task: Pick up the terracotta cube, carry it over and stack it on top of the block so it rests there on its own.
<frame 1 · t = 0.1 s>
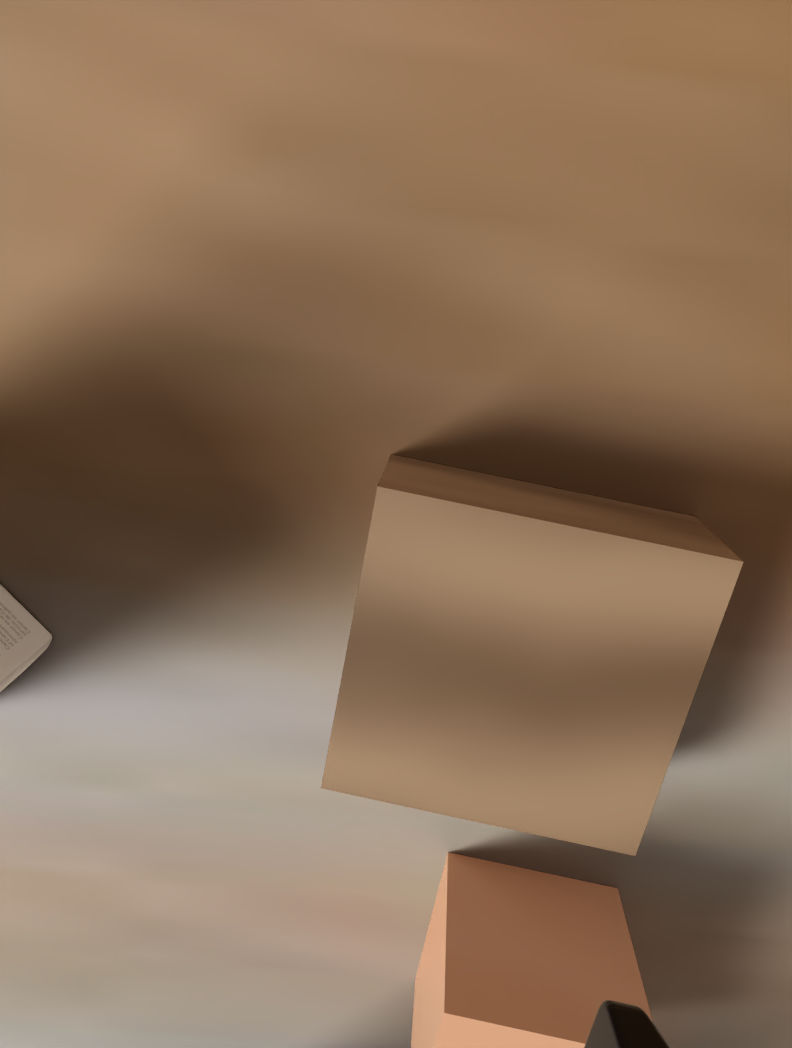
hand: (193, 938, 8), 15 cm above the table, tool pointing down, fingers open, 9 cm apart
cube: (512, 933, 26), on the table
block: (506, 618, 23), on the table
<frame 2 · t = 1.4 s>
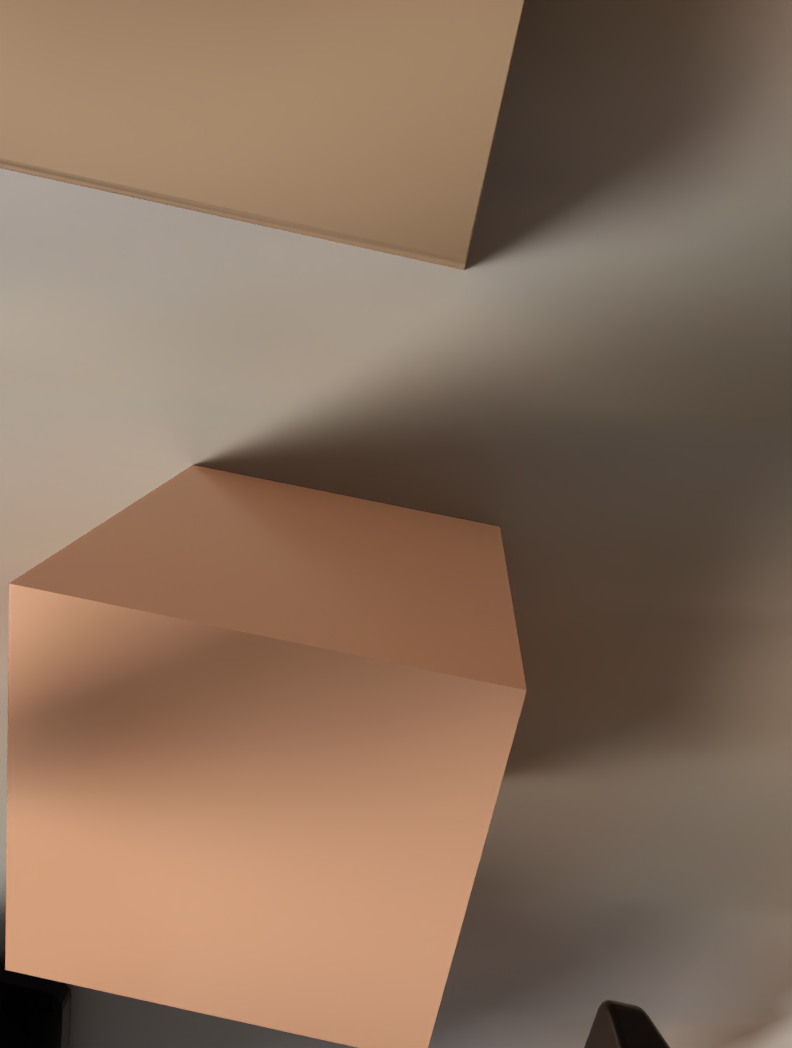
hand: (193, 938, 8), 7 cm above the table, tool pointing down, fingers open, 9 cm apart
cube: (323, 632, 15), on the table
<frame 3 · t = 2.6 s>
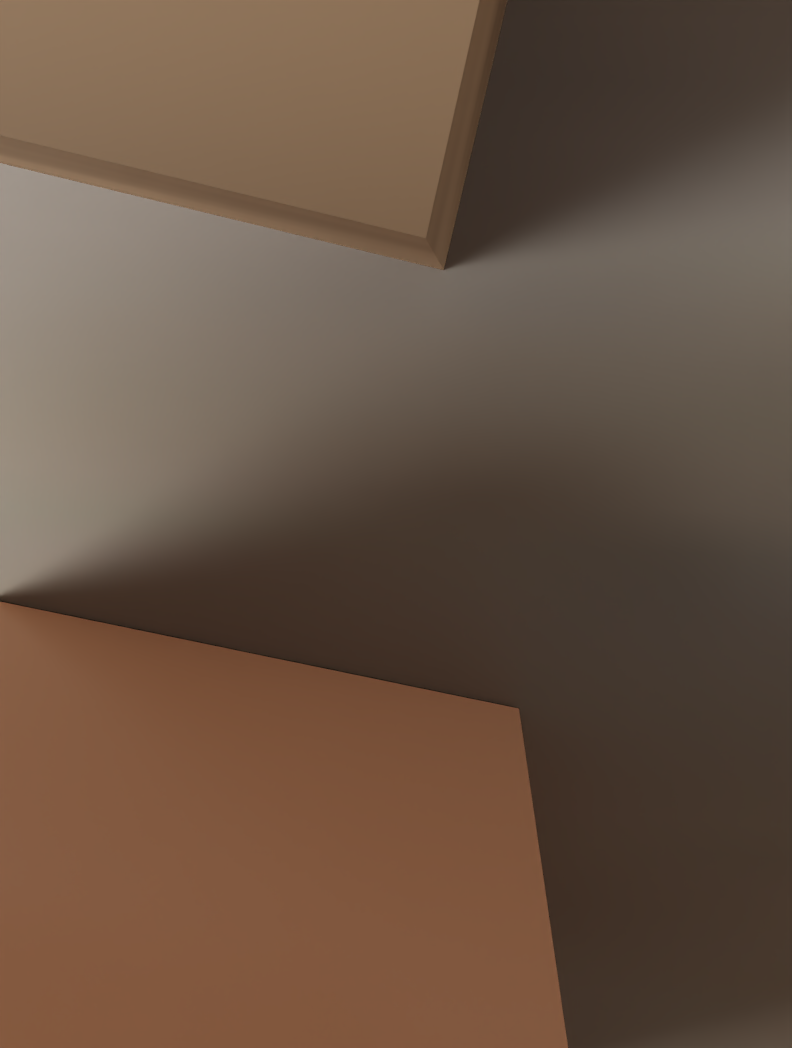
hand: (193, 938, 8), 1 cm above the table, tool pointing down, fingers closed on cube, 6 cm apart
cube: (222, 866, 9), on the table, touching gripper
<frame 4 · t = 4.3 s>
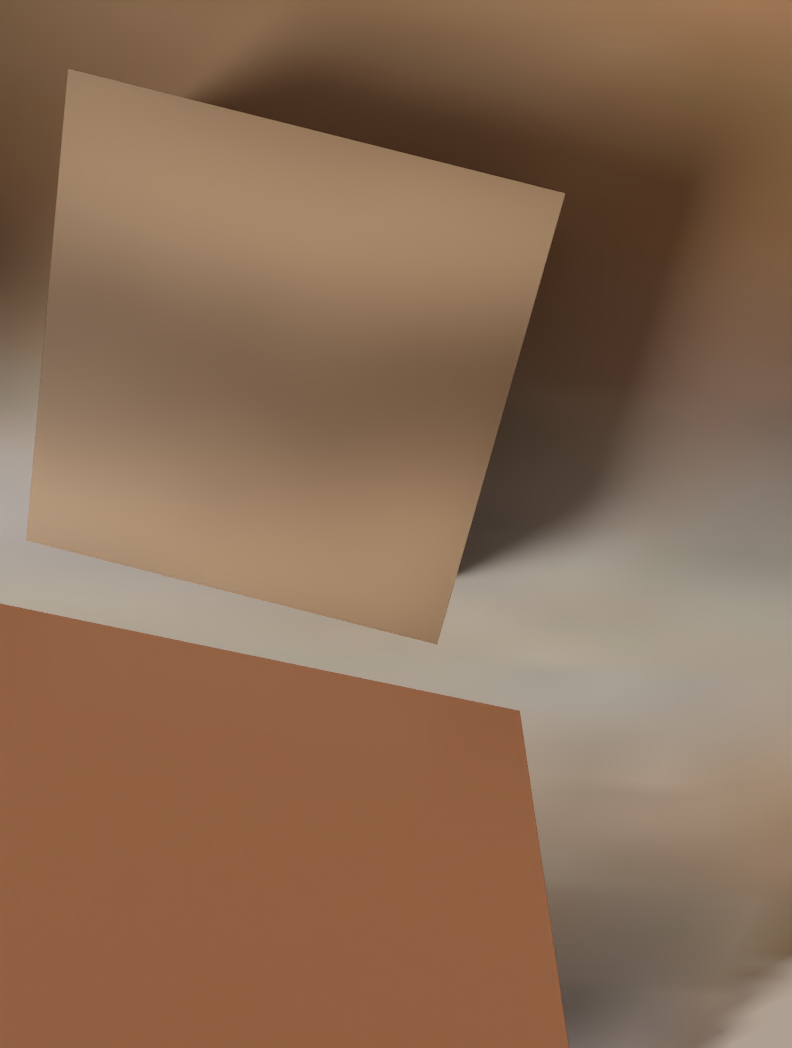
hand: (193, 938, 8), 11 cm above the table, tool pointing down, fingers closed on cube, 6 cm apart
cube: (223, 868, 9), point 10 cm above the table, touching gripper
block: (309, 367, 18), on the table
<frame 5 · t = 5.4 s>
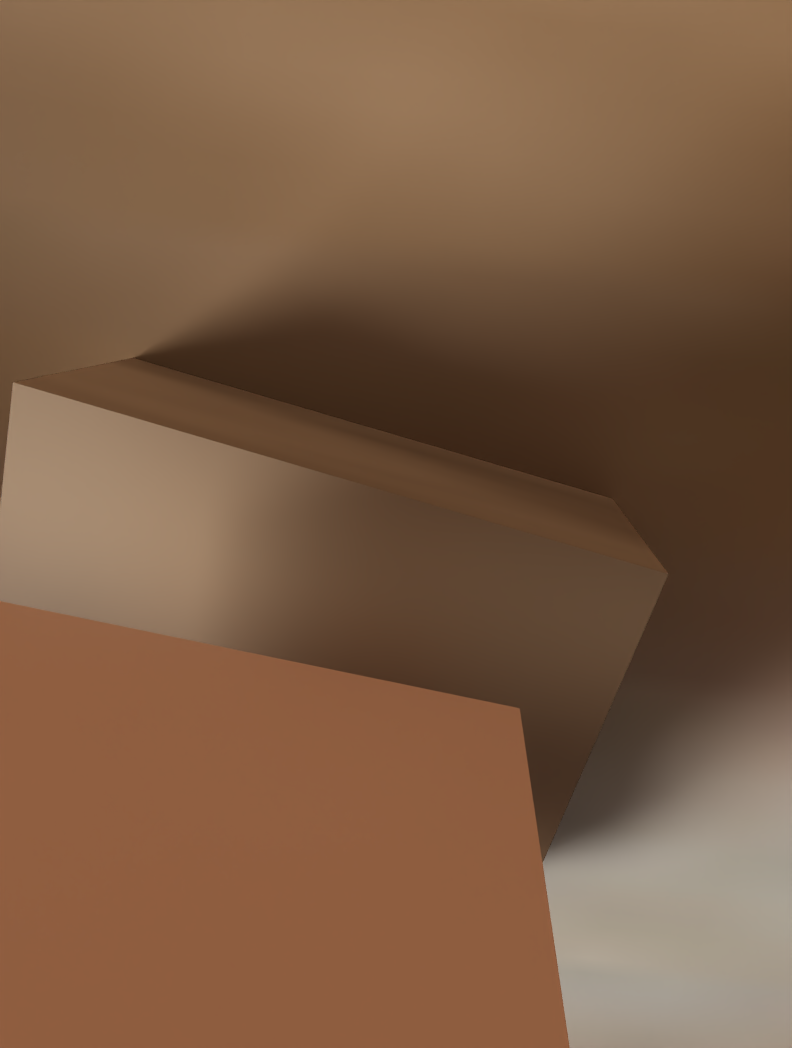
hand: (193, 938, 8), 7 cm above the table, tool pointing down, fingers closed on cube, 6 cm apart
cube: (222, 867, 9), point 6 cm above the table, touching gripper
block: (318, 635, 15), on the table
when the fingers open (6 cm above the table, at t = 6.0 s): cube drops 2 cm, resting on block.
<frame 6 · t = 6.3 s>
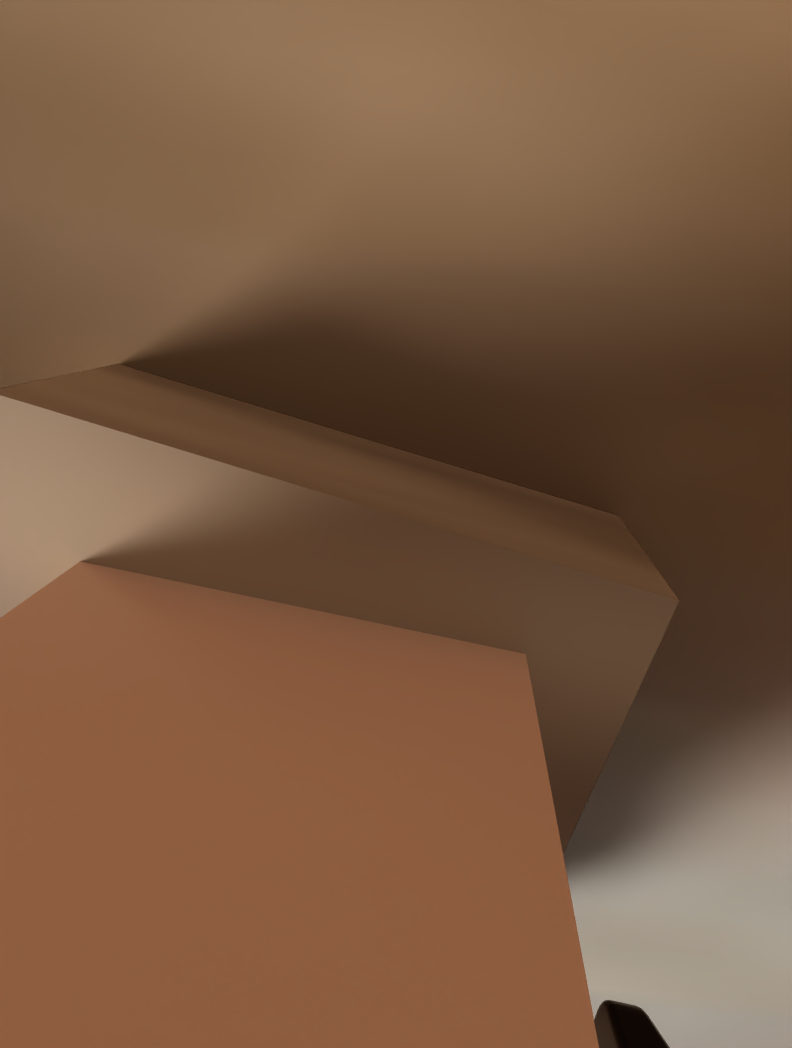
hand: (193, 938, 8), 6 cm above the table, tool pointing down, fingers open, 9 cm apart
cube: (271, 792, 10), point 4 cm above the table, touching block
block: (310, 651, 14), on the table, touching cube
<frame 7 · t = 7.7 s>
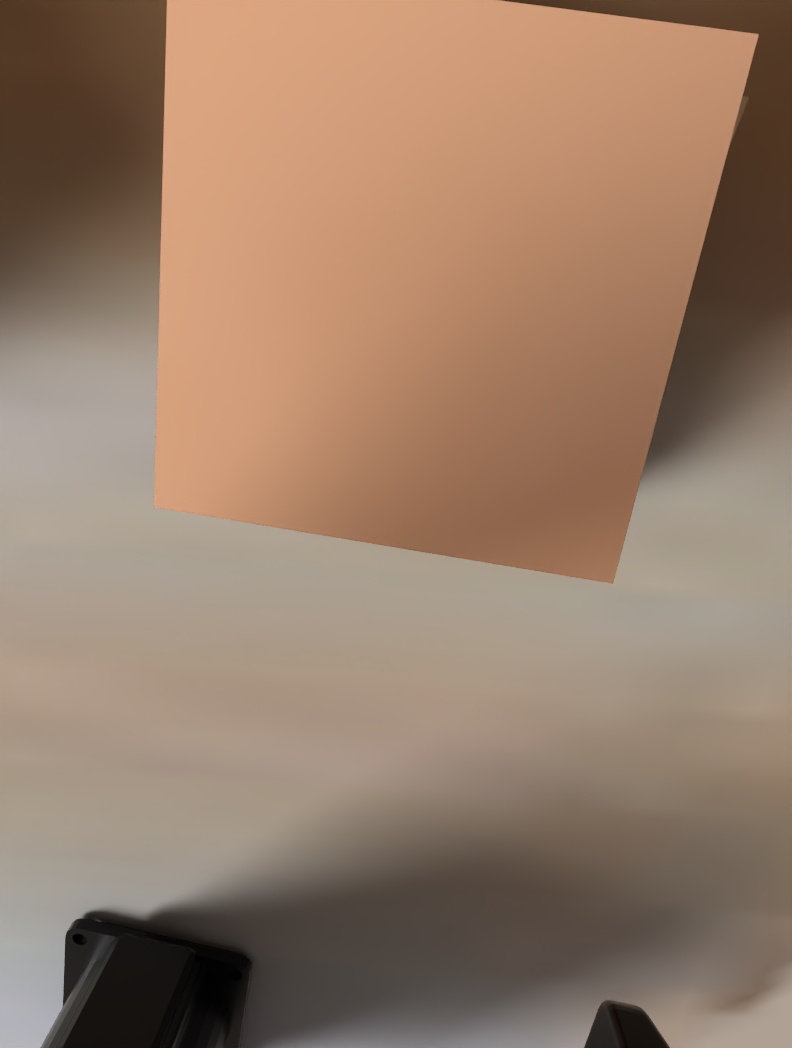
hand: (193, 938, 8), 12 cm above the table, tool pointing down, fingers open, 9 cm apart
cube: (437, 291, 14), point 4 cm above the table, touching block
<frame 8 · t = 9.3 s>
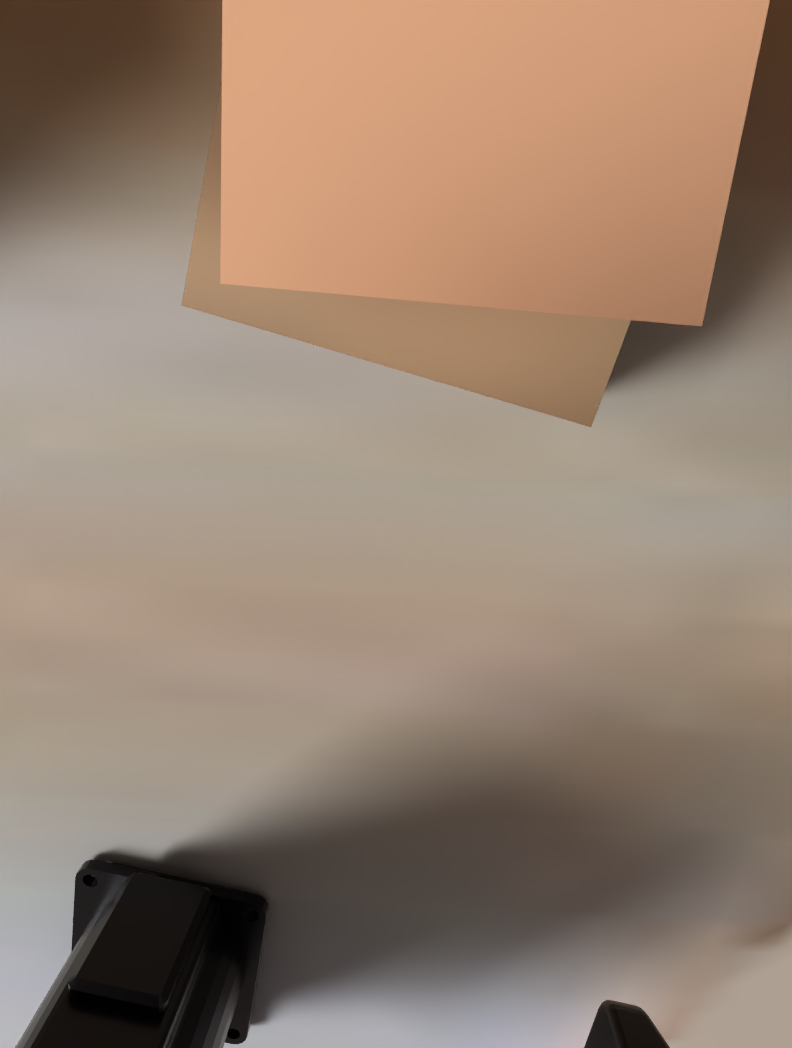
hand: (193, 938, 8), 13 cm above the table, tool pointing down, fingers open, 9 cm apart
cube: (475, 136, 14), point 4 cm above the table
block: (451, 170, 18), on the table
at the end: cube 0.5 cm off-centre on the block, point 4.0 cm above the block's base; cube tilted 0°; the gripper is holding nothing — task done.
